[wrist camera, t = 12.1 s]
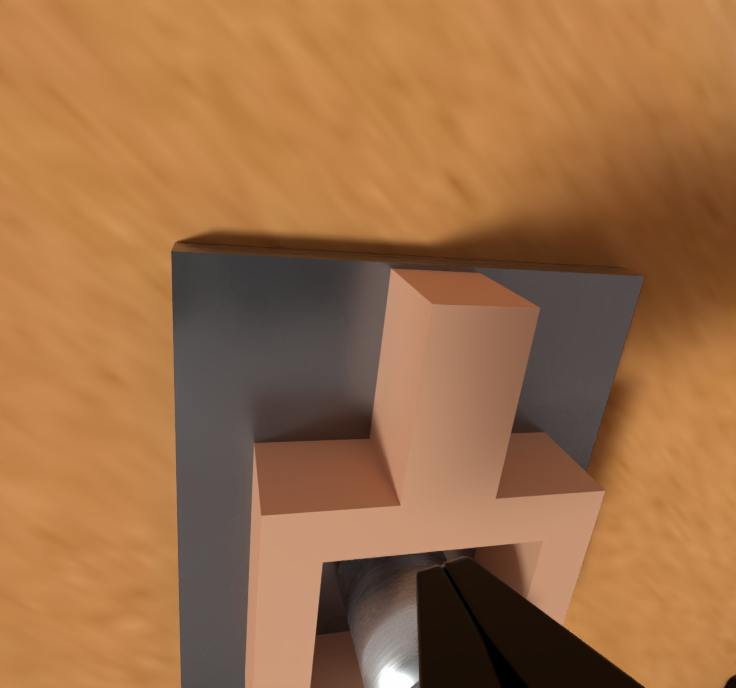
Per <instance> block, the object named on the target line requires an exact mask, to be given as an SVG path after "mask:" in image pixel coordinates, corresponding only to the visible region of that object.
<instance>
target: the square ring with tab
mask: <svg viewBox="0 0 736 688" xmlns="http://www.w3.org/2000/svg"><path fill="white" fill-rule="evenodd" d="M539 311H540V307H538V306H536V305H534V304H533V303H531V302H529V301H528V300H526V299H524V298H522V297H521V296H519V295H517V294H516V293H514V292H512V291H510V290H509V289H507V288H505V287H504V286H502V285H500V284H498V283H497V282H495V281H493V280H492V279H490V278H488V277H486V276H485V275H483V274H481V273H472V272H452V271H433V270H413V269H394V268H391V273H390V281H389V289H388V297H387V305H386V313H385V320H384V328H383V336H382V344H381V352H380V360H379V368H378V376H377V384H376V391H375V399H374V407H373V415H372V423H371V431H370V439H348V440H321V441H294V442H267V443H254V457H253V483H252V509H251V535H250V560H249V586H248V612H247V638H246V664H245V688H364V684H363V680H362V676H361V672H360V668H359V664H358V660H357V656H356V652H355V648H354V644H353V640H352V636H351V632H350V631H345V632H338V633H330V634H323V635H316V625H317V615H318V605H319V595H320V585H321V575H322V565H323V562H333V561H343V560H353V559H363V558H373V557H383V556H393V555H404V554H414V553H424V552H434V551H444V550H454V549H464V548H475V547H476V551H475V556H474V560H475V561H476V562H477V563H479V564H480V565H481V566H483V567H484V568H485V569H487V570H488V571H489V572H491V573H492V574H493V575H495V576H496V577H497V578H499V579H500V580H501V581H503V582H504V583H505V584H507V585H508V586H510V587H511V588H512V589H514V590H515V591H516V592H518V593H519V594H520V595H522V596H523V597H524V598H526V599H527V600H528V601H530V602H531V603H532V604H534V605H535V606H536V607H538V608H539V609H540V610H542V611H543V612H544V613H546V614H547V615H548V616H550V617H551V618H552V619H554V620H555V621H556V622H558V623H559V624H561V625H562V626H563V623H564V620H565V616H566V613H567V610H568V607H569V604H570V601H571V598H572V595H573V591H574V588H575V585H576V582H577V579H578V576H579V573H580V570H581V566H582V563H583V560H584V557H585V554H586V551H587V548H588V545H589V541H590V538H591V535H592V532H593V529H594V526H595V523H596V520H597V516H598V513H599V510H600V507H601V504H602V501H603V498H604V495H605V490H604V489H603V488H602V487H601V486H600V485H599V484H598V483H597V482H596V481H595V480H594V479H593V478H592V477H591V476H590V475H589V474H588V473H587V472H586V471H585V470H584V469H583V468H582V467H580V466H579V465H578V464H577V463H576V462H575V461H574V460H573V459H572V458H571V457H570V456H569V455H568V454H567V453H566V452H565V451H564V450H563V449H562V448H561V447H560V446H559V445H558V444H557V443H556V442H554V441H553V440H552V439H551V438H550V437H549V436H548V435H547V434H546V433H545V432H537V433H511V431H512V426H513V422H514V418H515V413H516V409H517V405H518V401H519V396H520V392H521V388H522V384H523V379H524V375H525V371H526V366H527V362H528V358H529V354H530V349H531V345H532V341H533V336H534V332H535V328H536V324H537V319H538V315H539Z"/></svg>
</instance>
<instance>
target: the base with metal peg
mask: <svg viewBox="0 0 736 688" xmlns="http://www.w3.org/2000/svg"><path fill="white" fill-rule="evenodd" d="M171 254H172V299H173V343H174V388H175V432H176V477H177V521H178V566H179V610H180V655H181V688H245V664H246V638H247V612H248V586H249V560H250V535H251V509H252V483H253V457H254V443H267V442H294V441H321V440H348V439H370V431H371V423H372V415H373V407H374V399H375V391H376V384H377V376H378V368H379V360H380V352H381V344H382V336H383V328H384V320H385V313H386V305H387V297H388V289H389V281H390V273H391V268H394V269H413V270H433V271H452V272H472V273H481V274H483V275H485V276H486V277H488V278H490V279H492V280H493V281H495V282H497V283H498V284H500V285H502V286H504V287H505V288H507V289H509V290H510V291H512V292H514V293H516V294H517V295H519V296H521V297H522V298H524V299H526V300H528V301H529V302H531V303H533V304H534V305H536V306H538V307H540V311H539V315H538V319H537V324H536V328H535V332H534V336H533V341H532V345H531V349H530V354H529V358H528V362H527V366H526V371H525V375H524V379H523V384H522V388H521V392H520V396H519V401H518V405H517V409H516V413H515V418H514V422H513V426H512V431H511V433H537V432H545V433H546V434H547V435H548V436H549V437H550V438H551V439H552V440H553V441H554V442H556V443H557V444H558V445H559V446H560V447H561V448H562V449H563V450H564V451H565V452H566V453H567V454H568V455H569V456H570V457H571V458H572V459H573V460H574V461H575V462H576V463H577V464H578V465H579V466H580V467H582V468H583V469H584V470H585V471H587V467H588V464H589V460H590V457H591V454H592V450H593V447H594V444H595V440H596V437H597V434H598V430H599V427H600V424H601V420H602V417H603V414H604V410H605V407H606V404H607V400H608V397H609V394H610V390H611V387H612V384H613V380H614V377H615V374H616V370H617V367H618V364H619V360H620V357H621V353H622V350H623V347H624V343H625V340H626V337H627V333H628V330H629V327H630V323H631V320H632V317H633V313H634V310H635V307H636V303H637V300H638V297H639V293H640V290H641V287H642V283H643V280H644V277H645V276H642V275H639V274H637V273H634V272H631V271H628V270H626V269H623V268H613V267H595V266H578V265H561V264H543V263H526V262H508V261H491V260H474V259H456V258H439V257H421V256H404V255H387V254H369V253H352V252H335V251H317V250H300V249H282V248H265V247H248V246H230V245H213V244H195V243H178V242H175V243H174V246H173V248H172V251H171ZM475 551H476V547H475V548H464V549H454V550H444V551H434V552H424V553H414V554H404V555H393V556H383V557H373V558H363V559H353V560H343V561H333V562H323V565H322V575H321V585H320V595H319V605H318V615H317V625H316V635H323V634H330V633H338V632H345V631H350V632H351V636H352V640H353V644H354V648H355V652H356V656H357V660H358V664H359V668H360V672H361V676H362V680H363V684H364V688H419V664H418V635H417V606H416V573H417V571H419V570H422V569H425V568H428V567H431V566H434V565H441V566H443V564H444V563H445V562H447V561H450V560H453V559H456V558H459V557H462V556H468V557H470V558H472V559H473V560H474V556H475Z"/></svg>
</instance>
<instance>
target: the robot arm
mask: <svg viewBox="0 0 736 688" xmlns="http://www.w3.org/2000/svg"><path fill="white" fill-rule="evenodd" d="M416 606H417V635H418V664H419V688H645V687H644V686H642V685H641V684H640V683H638V682H637V681H636V680H634V679H633V678H632V677H630V676H629V675H628V674H626V673H625V672H624V671H622V670H621V669H620V668H618V667H617V666H616V665H614V664H613V663H612V662H610V661H609V660H608V659H606V658H605V657H603V656H602V655H601V654H599V653H598V652H597V651H595V650H594V649H593V648H591V647H590V646H589V645H587V644H586V643H585V642H583V641H582V640H581V639H579V638H578V637H577V636H575V635H574V634H573V633H571V632H570V631H569V630H567V629H566V628H565V627H563V626H562V625H561V624H559V623H558V622H556V621H555V620H554V619H552V618H551V617H550V616H548V615H547V614H546V613H544V612H543V611H542V610H540V609H539V608H538V607H536V606H535V605H534V604H532V603H531V602H530V601H528V600H527V599H526V598H524V597H523V596H522V595H520V594H519V593H518V592H516V591H515V590H514V589H512V588H511V587H510V586H508V585H507V584H505V583H504V582H503V581H501V580H500V579H499V578H497V577H496V576H495V575H493V574H492V573H491V572H489V571H488V570H487V569H485V568H484V567H483V566H481V565H480V564H479V563H477V562H476V561H475V560H473V559H472V558H470V557H468V556H462V557H459V558H456V559H453V560H450V561H447V562H445V563H444V564H443V566H441V565H434V566H431V567H428V568H425V569H422V570H419V571H417V573H416ZM727 688H736V681H733V682H732V683H731V684H730V685H729V686H728V687H727Z"/></svg>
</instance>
